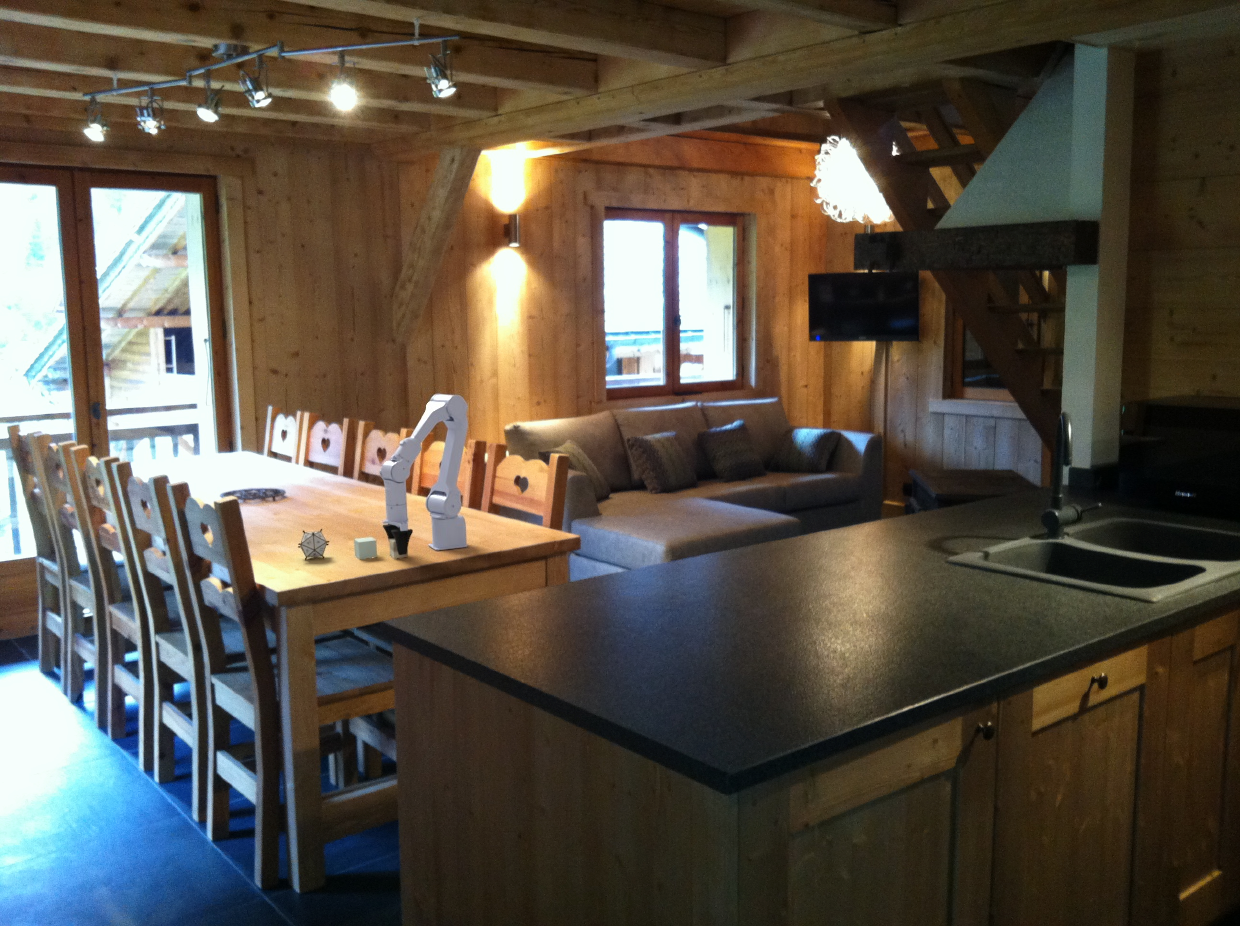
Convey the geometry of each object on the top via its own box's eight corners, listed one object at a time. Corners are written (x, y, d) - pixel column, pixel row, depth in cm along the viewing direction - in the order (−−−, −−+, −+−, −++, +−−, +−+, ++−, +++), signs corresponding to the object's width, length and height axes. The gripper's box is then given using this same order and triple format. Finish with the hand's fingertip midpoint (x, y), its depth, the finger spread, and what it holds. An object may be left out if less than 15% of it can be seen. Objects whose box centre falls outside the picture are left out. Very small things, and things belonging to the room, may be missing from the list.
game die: (318, 572, 302) (318, 548, 295) (291, 561, 303) (290, 537, 296) (335, 551, 308) (335, 527, 301) (309, 539, 309) (308, 516, 303)
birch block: (404, 554, 305) (403, 537, 304) (408, 557, 302) (407, 539, 301) (390, 556, 303) (389, 538, 303) (393, 559, 300) (392, 541, 299)
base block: (372, 554, 307) (371, 536, 306) (377, 557, 302) (376, 540, 301) (355, 556, 304) (354, 539, 304) (359, 560, 300) (358, 542, 299)
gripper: (375, 501, 305) (377, 548, 307) (388, 509, 292) (391, 558, 294) (400, 498, 308) (402, 545, 310) (414, 506, 295) (416, 555, 297)
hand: (398, 551), depth 302 cm, fingers open, 7 cm apart
